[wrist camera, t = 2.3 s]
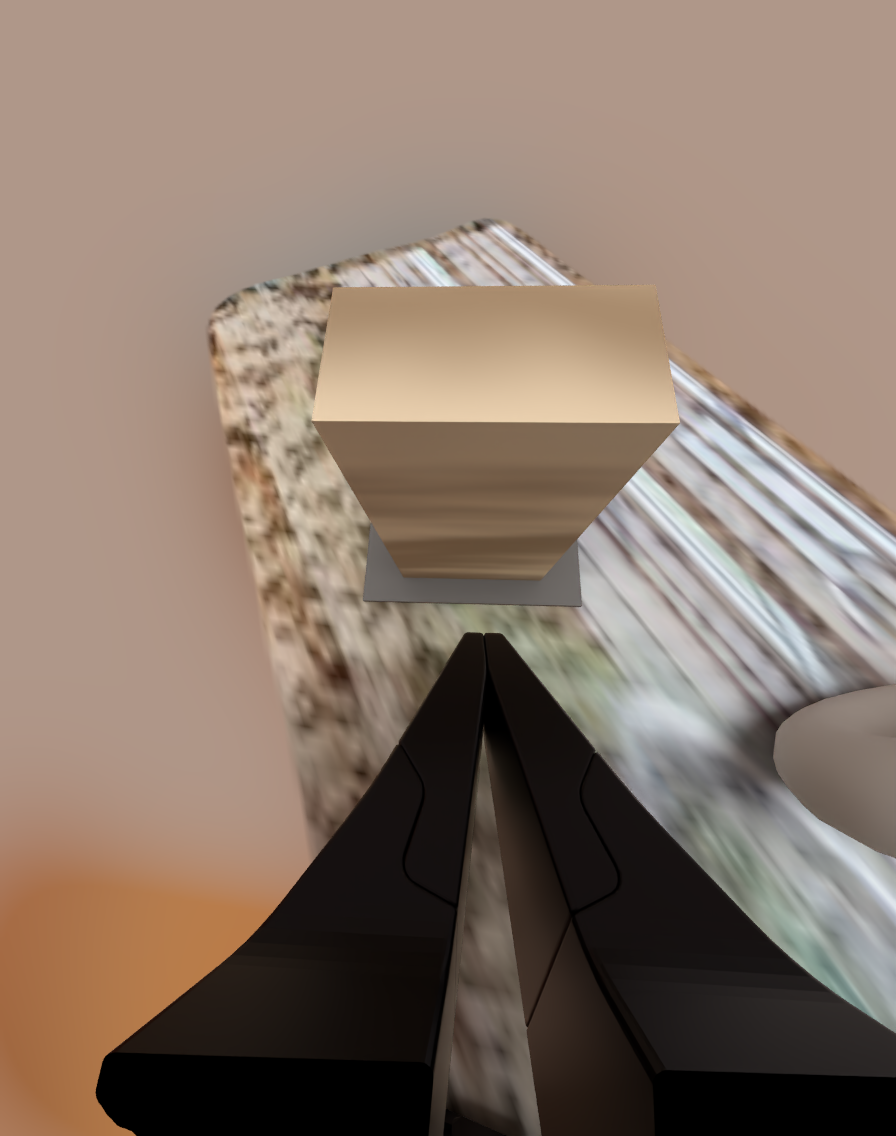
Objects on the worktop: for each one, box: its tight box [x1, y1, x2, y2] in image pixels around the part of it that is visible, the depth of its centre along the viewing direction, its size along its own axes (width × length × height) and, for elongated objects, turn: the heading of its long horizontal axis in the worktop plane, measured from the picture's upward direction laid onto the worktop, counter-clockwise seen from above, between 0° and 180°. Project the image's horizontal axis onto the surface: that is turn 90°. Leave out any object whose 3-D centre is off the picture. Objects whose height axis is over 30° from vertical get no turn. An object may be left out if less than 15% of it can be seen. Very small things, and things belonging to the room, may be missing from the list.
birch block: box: [312, 285, 680, 581], centre depth 13 cm, size 4×7×12 cm, turn 88°
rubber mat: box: [363, 523, 582, 607], centre depth 20 cm, size 16×11×1 cm
